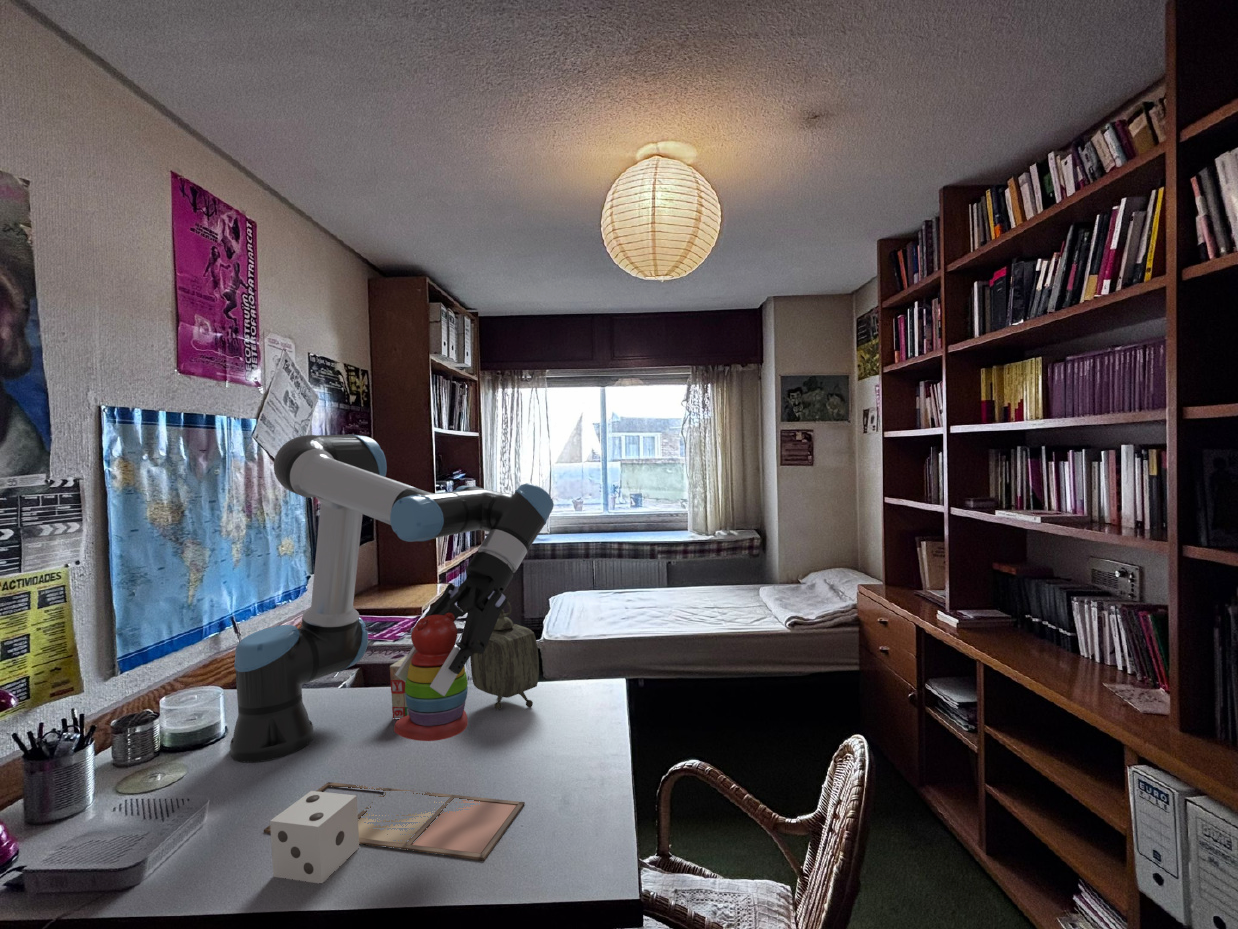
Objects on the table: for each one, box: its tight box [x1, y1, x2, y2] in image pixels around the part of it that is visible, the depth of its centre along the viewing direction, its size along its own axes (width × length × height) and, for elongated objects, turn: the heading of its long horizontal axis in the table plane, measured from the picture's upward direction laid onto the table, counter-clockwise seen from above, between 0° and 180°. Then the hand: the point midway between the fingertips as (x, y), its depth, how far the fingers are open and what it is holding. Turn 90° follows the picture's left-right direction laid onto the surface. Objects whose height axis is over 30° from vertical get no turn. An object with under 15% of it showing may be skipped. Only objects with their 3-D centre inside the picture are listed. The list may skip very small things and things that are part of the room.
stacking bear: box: [393, 613, 469, 742], centre depth 99 cm, size 11×10×18 cm
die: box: [269, 790, 360, 884], centre depth 92 cm, size 8×8×8 cm
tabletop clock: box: [469, 601, 540, 710], centre depth 146 cm, size 14×9×25 cm, turn 49°
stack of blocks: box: [389, 654, 409, 719], centre depth 152 cm, size 21×6×12 cm, turn 170°
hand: (419, 685), depth 97 cm, fingers closed on stacking bear, 9 cm apart
